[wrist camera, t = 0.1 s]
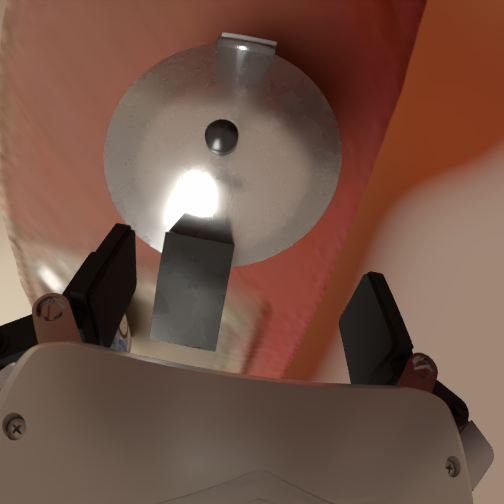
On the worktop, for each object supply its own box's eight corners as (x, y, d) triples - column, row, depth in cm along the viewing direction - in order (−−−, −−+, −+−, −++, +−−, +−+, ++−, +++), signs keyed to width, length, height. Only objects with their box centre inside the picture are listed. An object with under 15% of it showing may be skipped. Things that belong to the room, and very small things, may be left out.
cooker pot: (184, 37, 31) (154, 26, 21) (321, 63, 32) (346, 61, 23) (159, 215, 46) (134, 260, 36) (273, 237, 47) (275, 287, 38)
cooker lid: (148, 36, 22) (142, 20, 19) (347, 72, 23) (358, 59, 21) (80, 310, 22) (66, 318, 20) (299, 354, 24) (307, 366, 22)
